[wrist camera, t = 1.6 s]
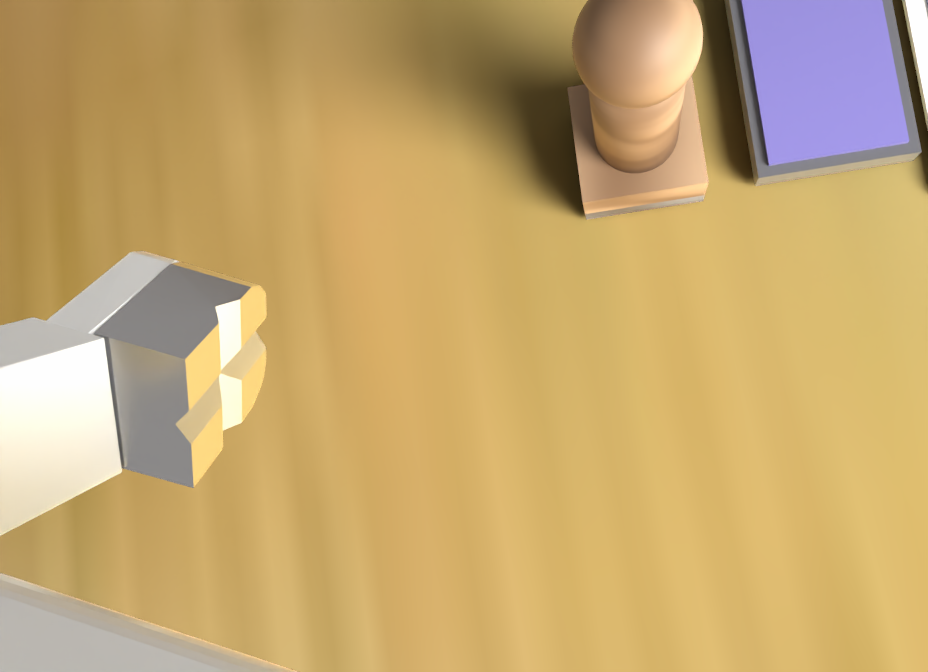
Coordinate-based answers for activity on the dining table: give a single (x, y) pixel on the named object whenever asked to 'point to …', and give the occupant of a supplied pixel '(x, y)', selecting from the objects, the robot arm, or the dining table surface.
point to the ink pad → (821, 86)
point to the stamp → (637, 106)
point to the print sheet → (919, 43)
